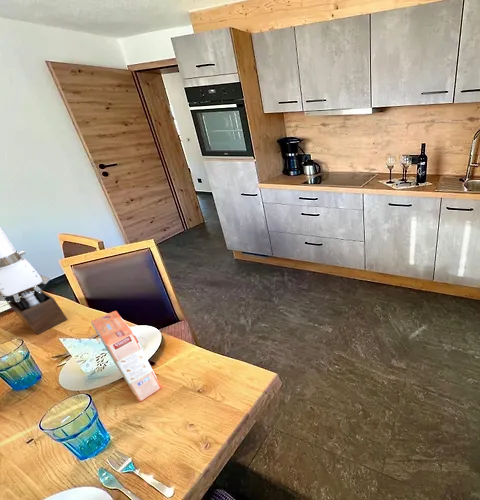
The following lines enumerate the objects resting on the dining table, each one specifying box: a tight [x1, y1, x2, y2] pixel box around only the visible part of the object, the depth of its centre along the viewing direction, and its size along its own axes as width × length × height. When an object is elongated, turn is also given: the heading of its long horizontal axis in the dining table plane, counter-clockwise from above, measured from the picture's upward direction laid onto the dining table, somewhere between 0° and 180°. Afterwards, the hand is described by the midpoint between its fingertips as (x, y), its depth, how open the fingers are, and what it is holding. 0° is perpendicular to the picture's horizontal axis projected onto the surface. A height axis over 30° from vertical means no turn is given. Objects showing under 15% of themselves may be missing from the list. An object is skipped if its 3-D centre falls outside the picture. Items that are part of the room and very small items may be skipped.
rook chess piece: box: [21, 290, 41, 308], centre depth 100 cm, size 4×4×8 cm
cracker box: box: [90, 310, 162, 403], centre depth 77 cm, size 14×6×21 cm, turn 51°
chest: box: [7, 290, 68, 336], centre depth 104 cm, size 12×9×10 cm
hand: (34, 305), depth 101 cm, fingers closed on rook chess piece, 3 cm apart
